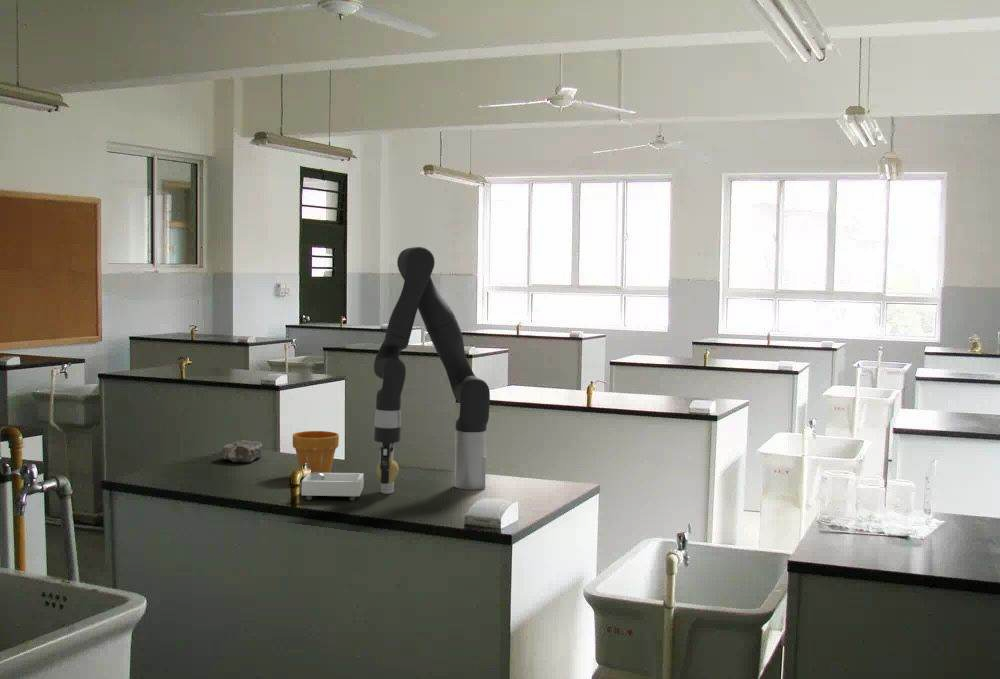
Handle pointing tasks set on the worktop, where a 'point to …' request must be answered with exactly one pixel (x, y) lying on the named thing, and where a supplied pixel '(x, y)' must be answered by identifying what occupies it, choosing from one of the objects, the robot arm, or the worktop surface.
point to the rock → (242, 451)
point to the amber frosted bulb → (392, 475)
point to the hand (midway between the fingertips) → (385, 480)
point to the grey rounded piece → (317, 476)
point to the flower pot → (316, 449)
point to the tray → (334, 485)
